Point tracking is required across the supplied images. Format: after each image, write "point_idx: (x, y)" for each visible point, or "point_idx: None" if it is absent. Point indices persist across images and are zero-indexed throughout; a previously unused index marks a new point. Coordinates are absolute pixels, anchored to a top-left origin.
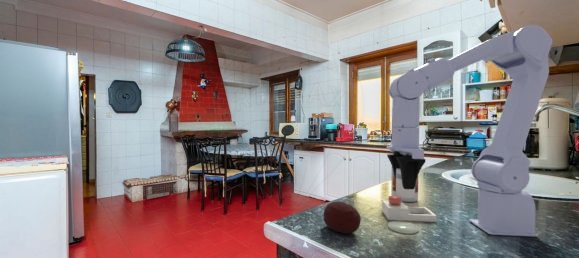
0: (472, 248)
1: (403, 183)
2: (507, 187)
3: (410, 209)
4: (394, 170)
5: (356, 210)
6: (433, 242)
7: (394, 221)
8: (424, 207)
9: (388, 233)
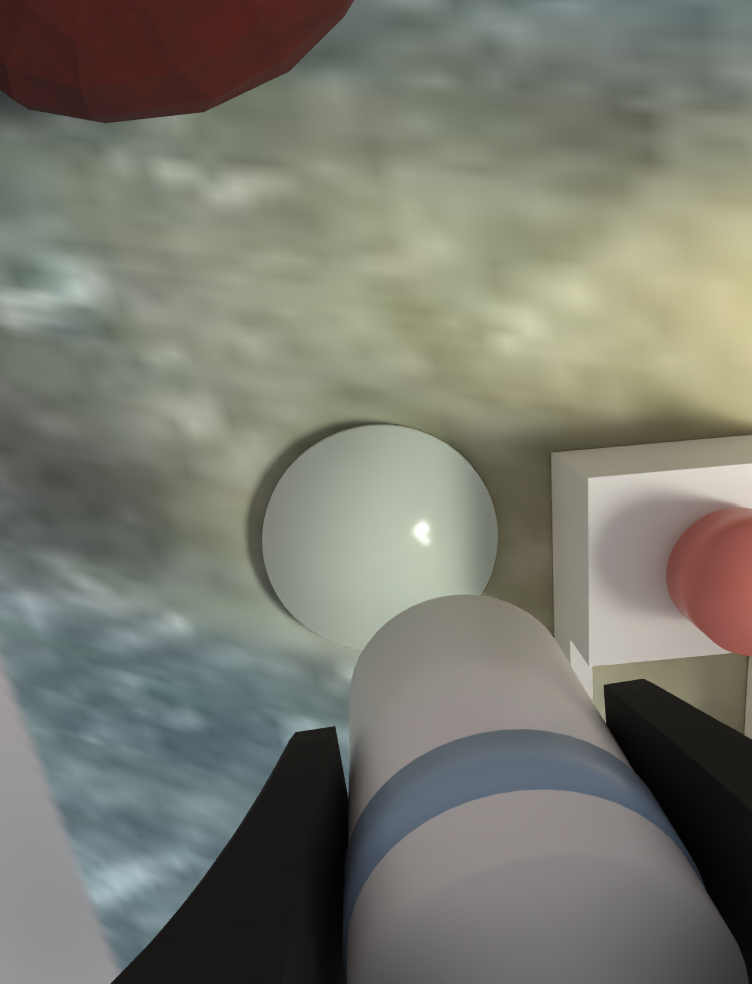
0: (132, 871)
1: (274, 770)
2: None
3: None
4: (734, 797)
5: (72, 34)
6: (157, 684)
7: (479, 495)
8: None
9: (238, 404)
